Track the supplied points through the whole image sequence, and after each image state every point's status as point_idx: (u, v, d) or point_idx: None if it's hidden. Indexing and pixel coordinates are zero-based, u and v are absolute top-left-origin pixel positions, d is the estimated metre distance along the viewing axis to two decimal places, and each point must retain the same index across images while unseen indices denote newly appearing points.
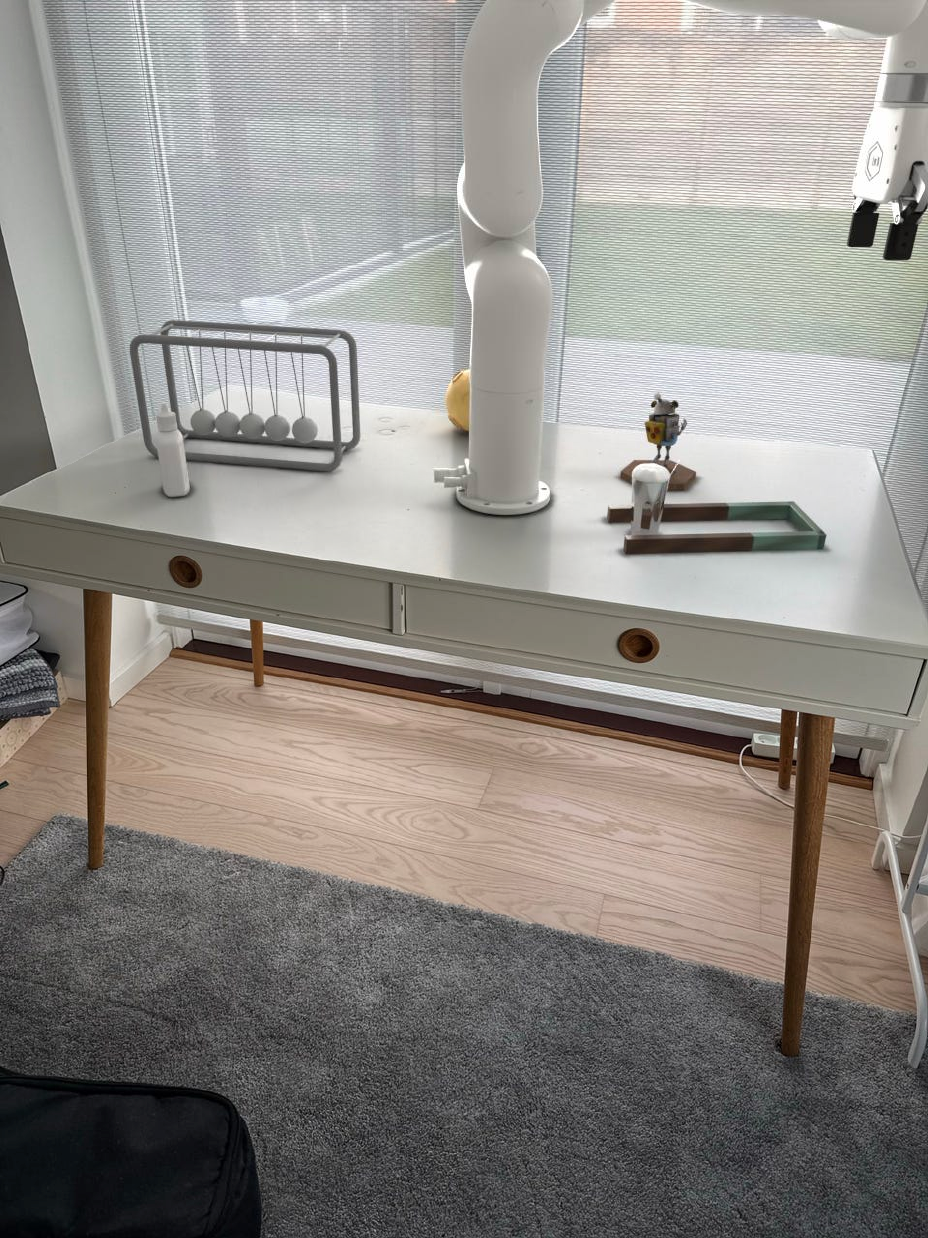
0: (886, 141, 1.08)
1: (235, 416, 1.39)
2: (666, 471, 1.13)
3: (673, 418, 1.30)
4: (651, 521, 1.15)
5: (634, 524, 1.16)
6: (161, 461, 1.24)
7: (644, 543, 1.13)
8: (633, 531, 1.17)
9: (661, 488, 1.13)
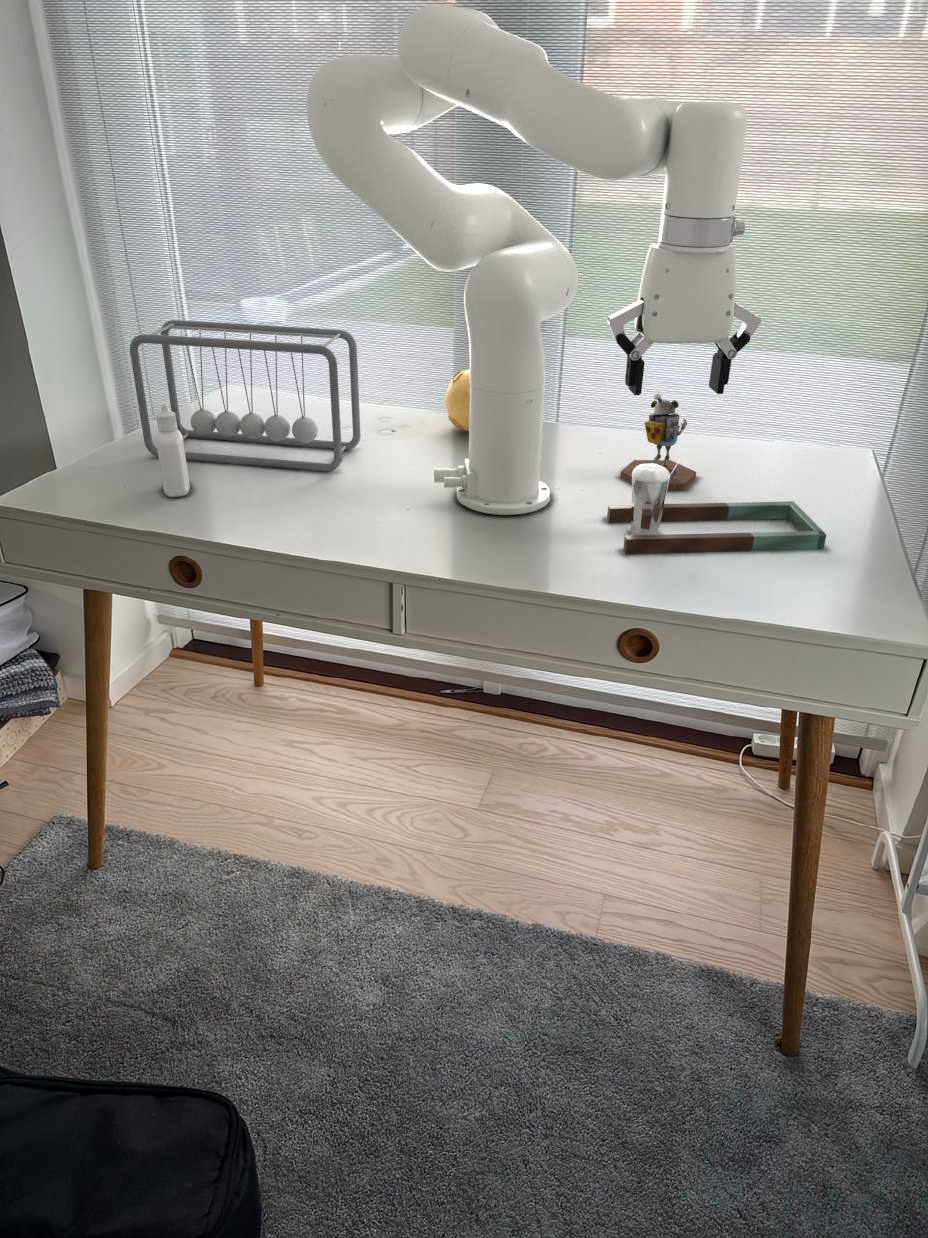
0: None
1: (235, 416, 1.39)
2: (666, 471, 1.13)
3: (673, 418, 1.30)
4: (651, 521, 1.15)
5: (634, 524, 1.16)
6: (161, 461, 1.24)
7: (644, 543, 1.13)
8: (633, 531, 1.17)
9: (661, 488, 1.13)
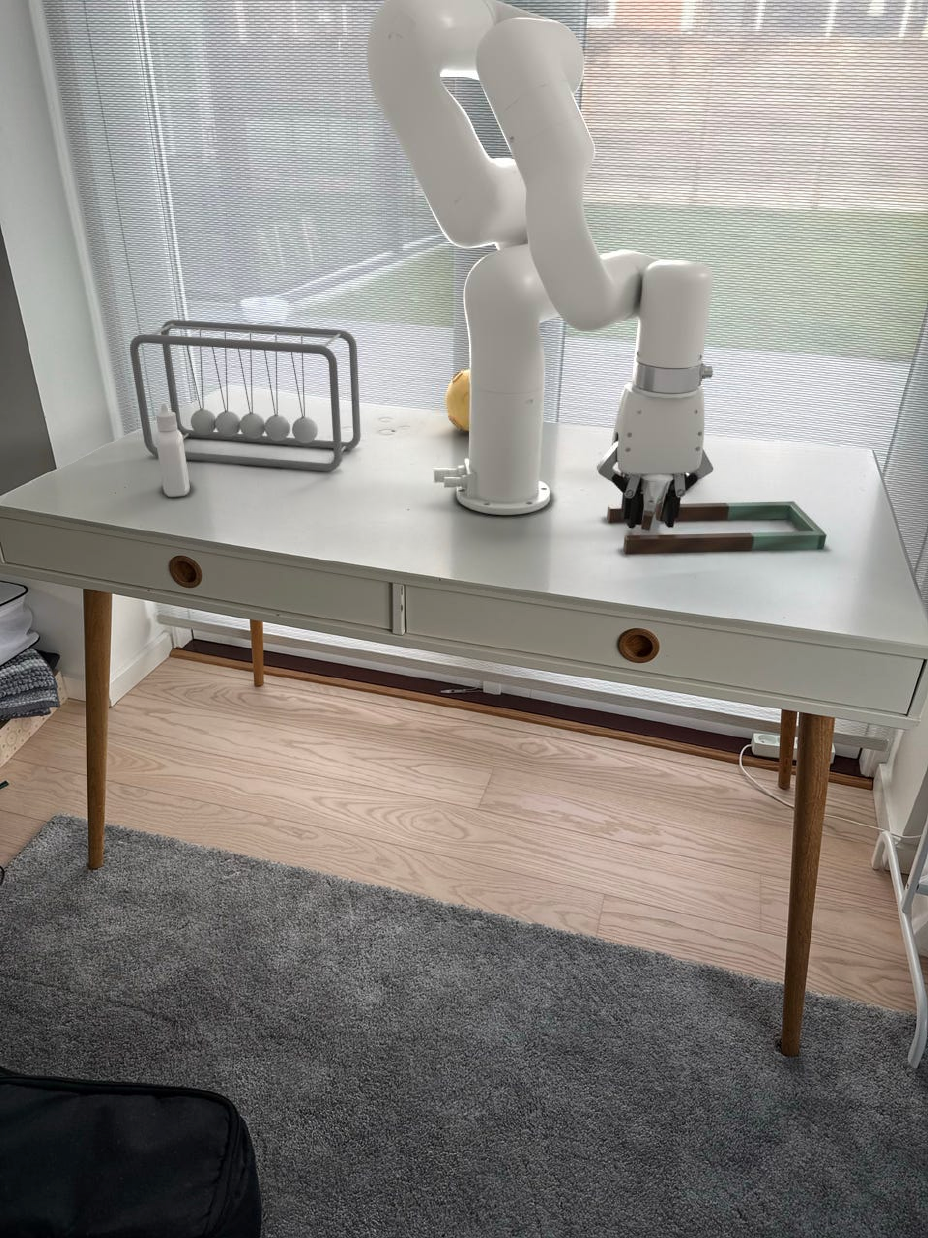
0: None
1: (235, 416, 1.39)
2: None
3: None
4: (652, 520, 1.15)
5: None
6: (161, 461, 1.24)
7: (644, 543, 1.13)
8: (633, 529, 1.17)
9: (665, 488, 1.13)
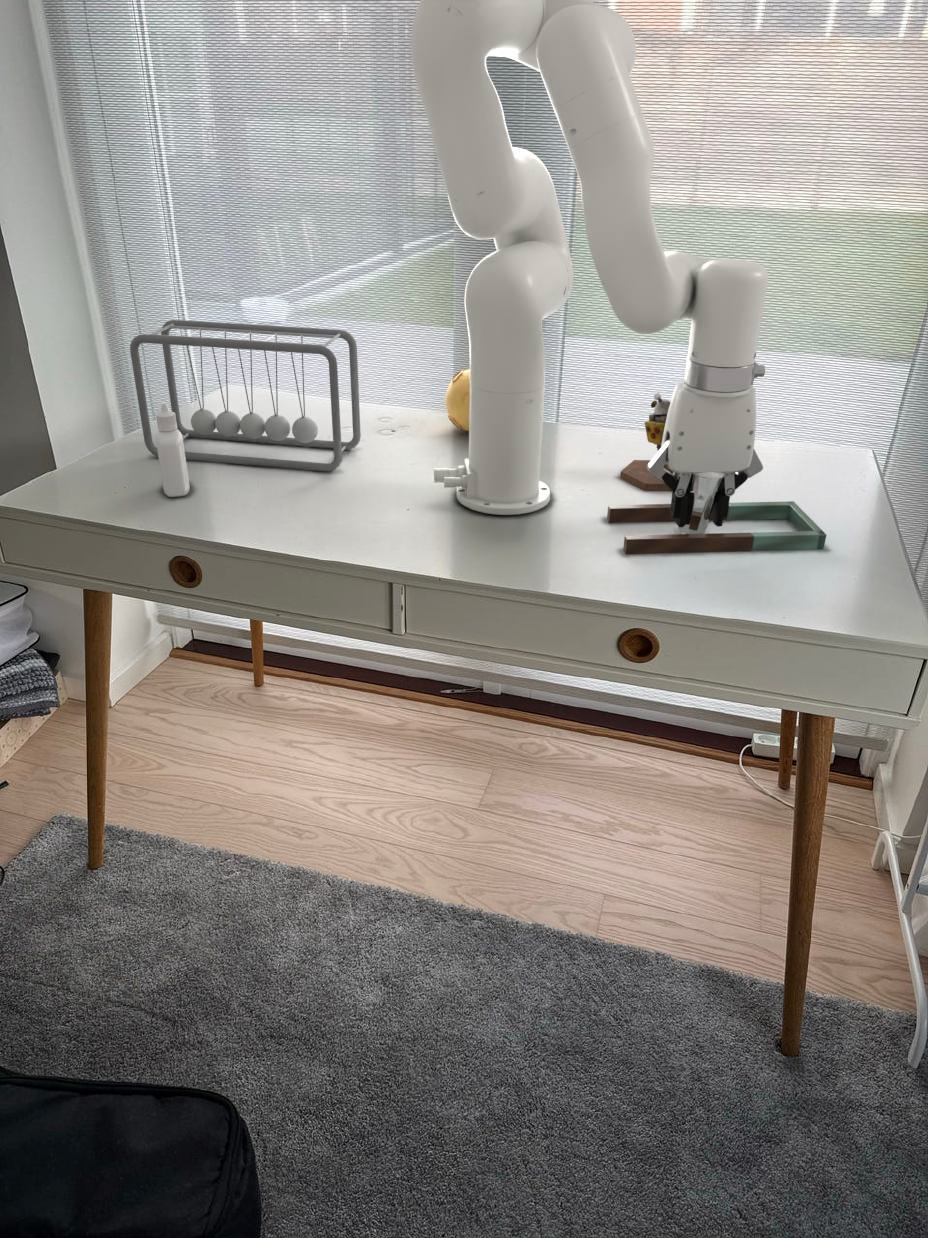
0: None
1: (235, 416, 1.39)
2: None
3: None
4: (702, 516, 1.15)
5: None
6: (161, 461, 1.24)
7: (644, 543, 1.13)
8: None
9: (716, 484, 1.13)
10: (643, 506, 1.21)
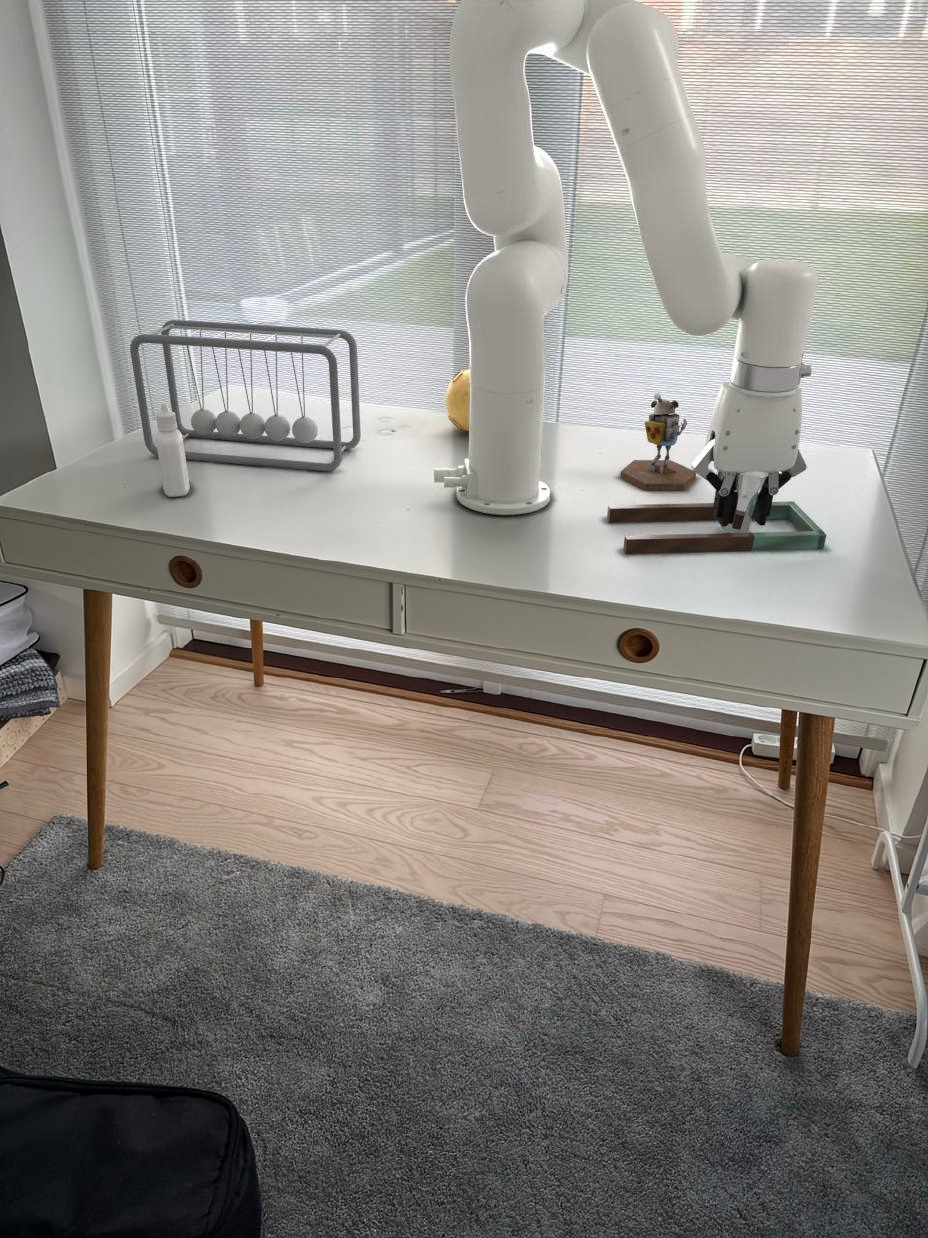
0: None
1: (235, 416, 1.39)
2: None
3: (673, 418, 1.30)
4: (745, 516, 1.16)
5: None
6: (161, 461, 1.24)
7: (644, 543, 1.13)
8: None
9: (760, 483, 1.14)
10: (643, 506, 1.21)
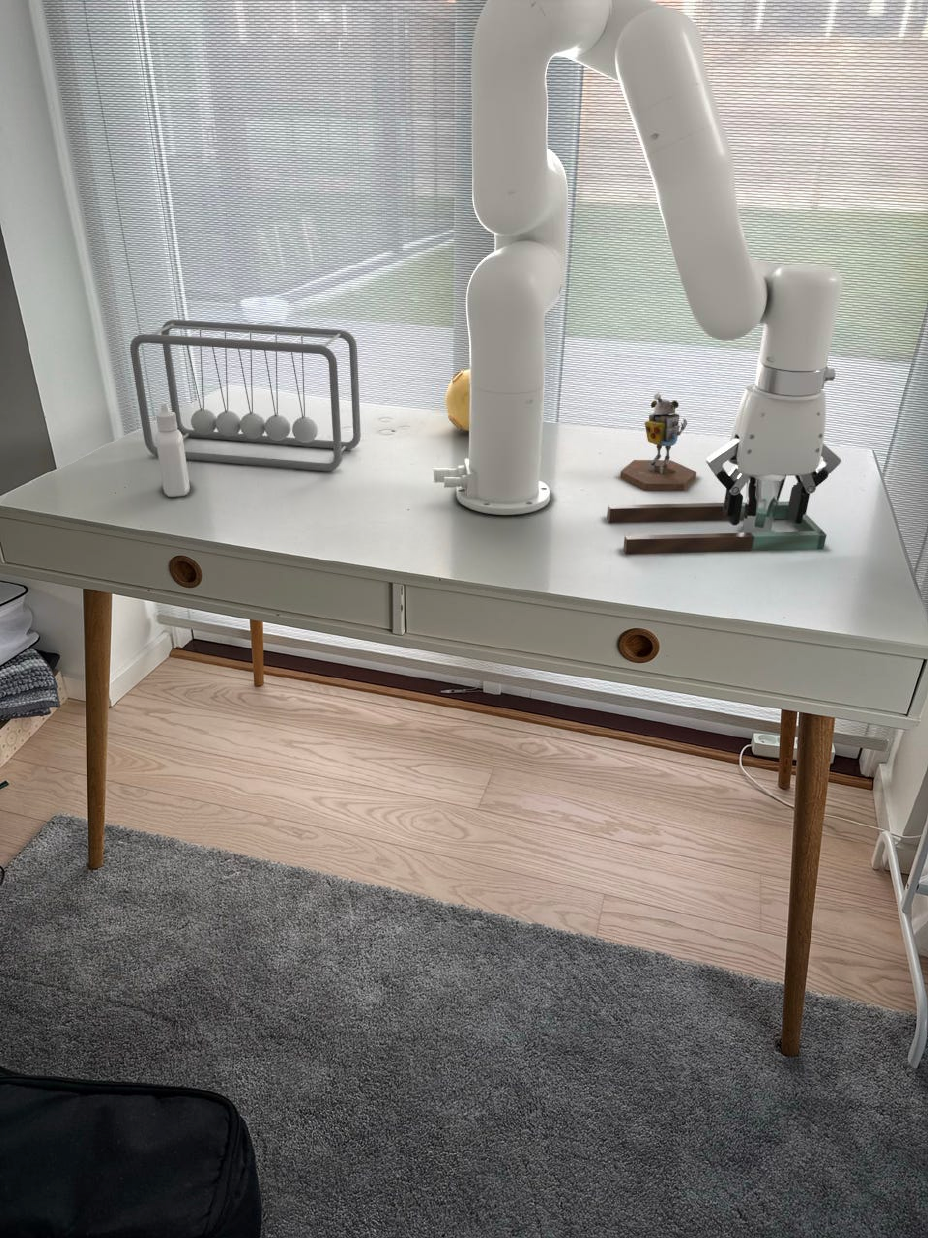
0: None
1: (235, 416, 1.39)
2: None
3: (673, 418, 1.30)
4: (766, 519, 1.16)
5: (748, 522, 1.18)
6: (161, 461, 1.24)
7: (644, 543, 1.13)
8: (746, 528, 1.18)
9: (778, 486, 1.14)
10: (643, 506, 1.21)
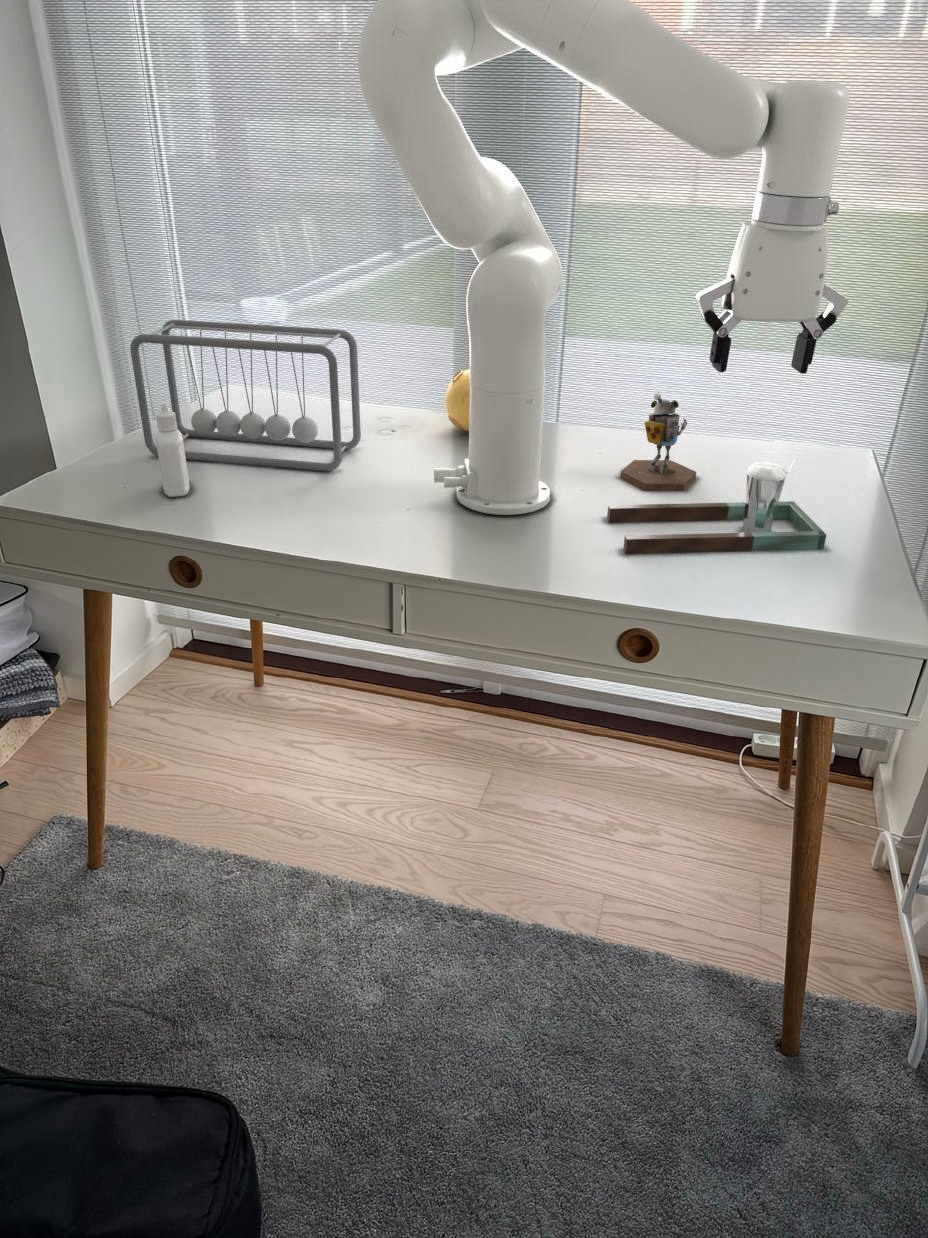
0: None
1: (236, 416, 1.39)
2: (782, 469, 1.14)
3: (673, 418, 1.30)
4: (766, 519, 1.16)
5: (748, 522, 1.18)
6: (161, 461, 1.24)
7: (644, 543, 1.13)
8: (746, 528, 1.18)
9: (778, 486, 1.14)
10: (643, 506, 1.21)
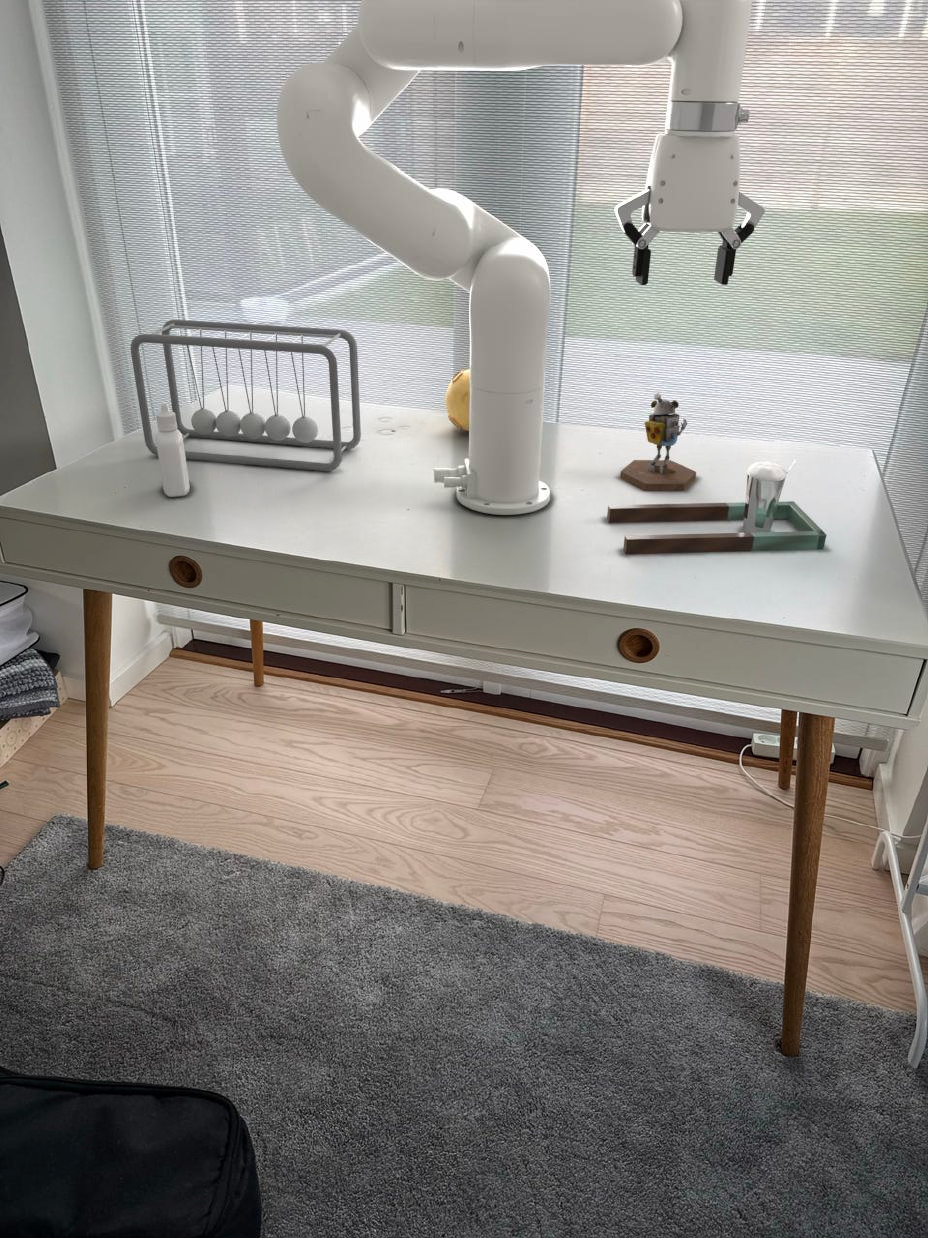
0: None
1: (236, 415, 1.39)
2: (783, 469, 1.14)
3: (673, 418, 1.30)
4: (766, 519, 1.16)
5: (748, 522, 1.18)
6: (161, 461, 1.24)
7: (644, 543, 1.13)
8: (746, 528, 1.18)
9: (778, 486, 1.14)
10: (643, 506, 1.21)
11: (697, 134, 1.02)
